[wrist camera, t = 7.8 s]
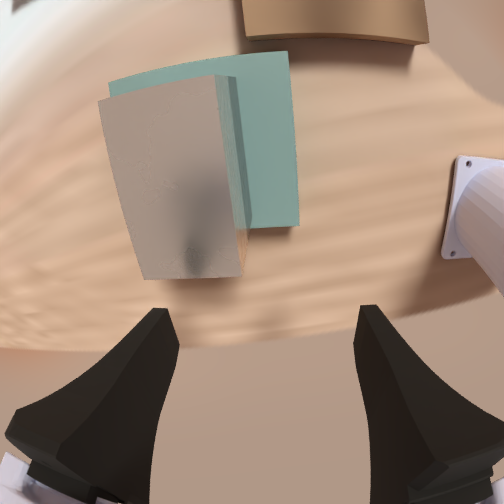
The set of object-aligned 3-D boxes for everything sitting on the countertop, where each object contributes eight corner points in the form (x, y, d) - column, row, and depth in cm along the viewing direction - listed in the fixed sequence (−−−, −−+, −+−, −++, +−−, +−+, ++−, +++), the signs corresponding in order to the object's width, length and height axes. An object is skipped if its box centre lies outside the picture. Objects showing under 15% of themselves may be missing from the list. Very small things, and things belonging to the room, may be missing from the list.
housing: (252, 216, 18) (242, 276, 13) (178, 221, 19) (144, 279, 14) (235, 76, 14) (214, 74, 9) (154, 91, 15) (97, 101, 9)
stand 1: (286, 54, 15) (287, 50, 13) (297, 212, 20) (299, 225, 18) (123, 81, 16) (108, 82, 14) (152, 222, 21) (141, 235, 19)
